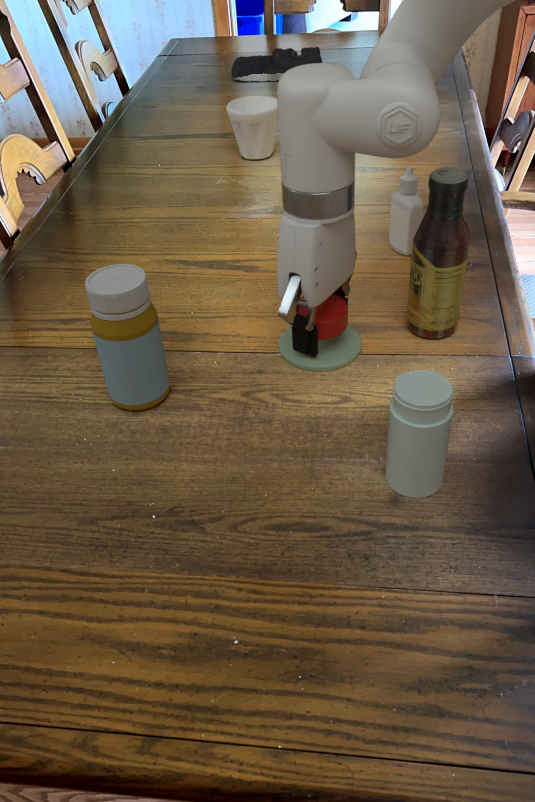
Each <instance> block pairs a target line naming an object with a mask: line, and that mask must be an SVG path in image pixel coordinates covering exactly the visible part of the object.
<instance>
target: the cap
mask: <svg viewBox="0 0 535 802" xmlns="http://www.w3.org/2000/svg"><path fill="white" fill-rule="evenodd" d="M300 298H303V299H304V296H303V295H302V296H301V297H300ZM307 312H308V308H307V307H304V306H300V310H299V314H301V315H303V316H304V317H306V318H307ZM347 325H348V324H347V303H346V302H345V301H344V300H343V299H342V298H341V297H339V296H337V295H334V294H331V295H330V296H329V297H328V298H327V299H326V300H325V301H324V302H322V303H321V304H320V305H318V308H317V313H316V318H315V324H314V326H316V327H318V340H326V339H331V338H334V337H337V336H339V335H340V334H342V333H343V332H344V331H345V329H346V328H347Z"/></svg>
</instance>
